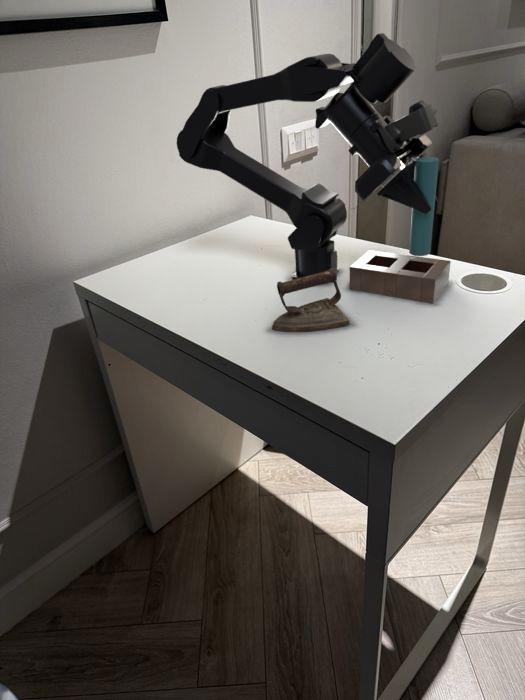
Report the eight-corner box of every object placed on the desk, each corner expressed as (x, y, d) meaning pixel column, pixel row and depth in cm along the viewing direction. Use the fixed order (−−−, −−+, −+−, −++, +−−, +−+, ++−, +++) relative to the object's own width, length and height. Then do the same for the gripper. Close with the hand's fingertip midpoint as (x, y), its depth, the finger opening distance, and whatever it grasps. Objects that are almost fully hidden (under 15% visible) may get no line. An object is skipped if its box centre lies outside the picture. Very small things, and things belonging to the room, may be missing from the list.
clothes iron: (355, 326, 77) (342, 271, 70) (285, 357, 76) (266, 304, 70) (335, 303, 82) (322, 250, 76) (271, 331, 82) (252, 280, 75)
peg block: (349, 289, 87) (349, 266, 85) (368, 271, 92) (368, 249, 90) (433, 303, 80) (435, 279, 78) (448, 283, 85) (450, 260, 83)
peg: (414, 257, 79) (421, 162, 72) (405, 250, 82) (411, 158, 75) (434, 254, 80) (442, 159, 72) (424, 247, 82) (432, 155, 75)
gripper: (379, 92, 64) (462, 188, 64) (423, 75, 77) (491, 155, 77) (322, 157, 72) (396, 242, 72) (371, 131, 85) (433, 203, 85)
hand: (432, 208), depth 77 cm, fingers closed on peg, 3 cm apart
